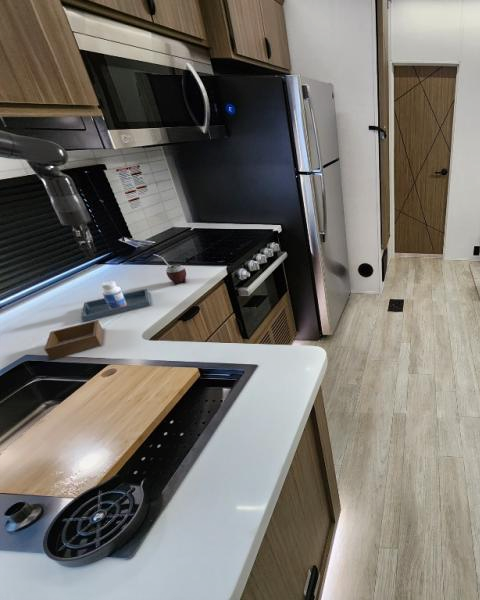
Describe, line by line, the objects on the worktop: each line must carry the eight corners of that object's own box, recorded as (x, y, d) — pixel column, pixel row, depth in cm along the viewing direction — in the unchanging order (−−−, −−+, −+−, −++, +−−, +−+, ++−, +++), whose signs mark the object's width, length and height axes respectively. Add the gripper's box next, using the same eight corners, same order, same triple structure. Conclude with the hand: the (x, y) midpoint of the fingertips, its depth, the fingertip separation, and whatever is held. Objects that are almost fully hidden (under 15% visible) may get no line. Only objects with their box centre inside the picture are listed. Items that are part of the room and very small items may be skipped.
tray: (84, 323, 116) (80, 317, 115) (87, 308, 126) (84, 302, 124) (151, 306, 126) (148, 300, 125) (148, 294, 136) (146, 288, 135)
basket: (51, 361, 97) (44, 349, 95) (57, 343, 105) (50, 331, 103) (102, 347, 103) (95, 335, 101) (103, 331, 111) (97, 319, 109)
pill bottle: (105, 308, 124) (94, 285, 119) (119, 302, 128) (109, 279, 124) (117, 310, 123) (106, 286, 118) (130, 303, 127) (120, 280, 123)
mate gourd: (192, 280, 148) (182, 248, 141) (180, 288, 141) (168, 254, 134) (177, 279, 149) (166, 247, 142) (164, 287, 142) (152, 254, 135)
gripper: (58, 206, 111) (80, 252, 118) (51, 214, 101) (75, 263, 108) (87, 203, 115) (106, 248, 122) (83, 210, 105) (105, 259, 112)
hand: (92, 255), depth 115 cm, fingers open, 8 cm apart
